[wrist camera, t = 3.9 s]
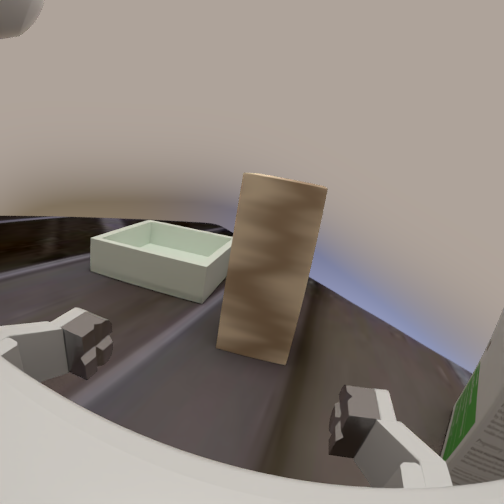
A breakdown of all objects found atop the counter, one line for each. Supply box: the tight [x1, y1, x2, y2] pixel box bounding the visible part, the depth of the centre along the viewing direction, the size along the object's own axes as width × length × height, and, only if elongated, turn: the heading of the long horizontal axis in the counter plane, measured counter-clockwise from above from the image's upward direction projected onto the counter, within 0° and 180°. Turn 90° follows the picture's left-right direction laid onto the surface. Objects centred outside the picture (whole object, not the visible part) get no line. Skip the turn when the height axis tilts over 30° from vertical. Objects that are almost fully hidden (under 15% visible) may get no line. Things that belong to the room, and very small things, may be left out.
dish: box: [90, 220, 233, 304], centre depth 35 cm, size 13×13×4 cm
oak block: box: [216, 173, 327, 365], centre depth 22 cm, size 5×5×12 cm
